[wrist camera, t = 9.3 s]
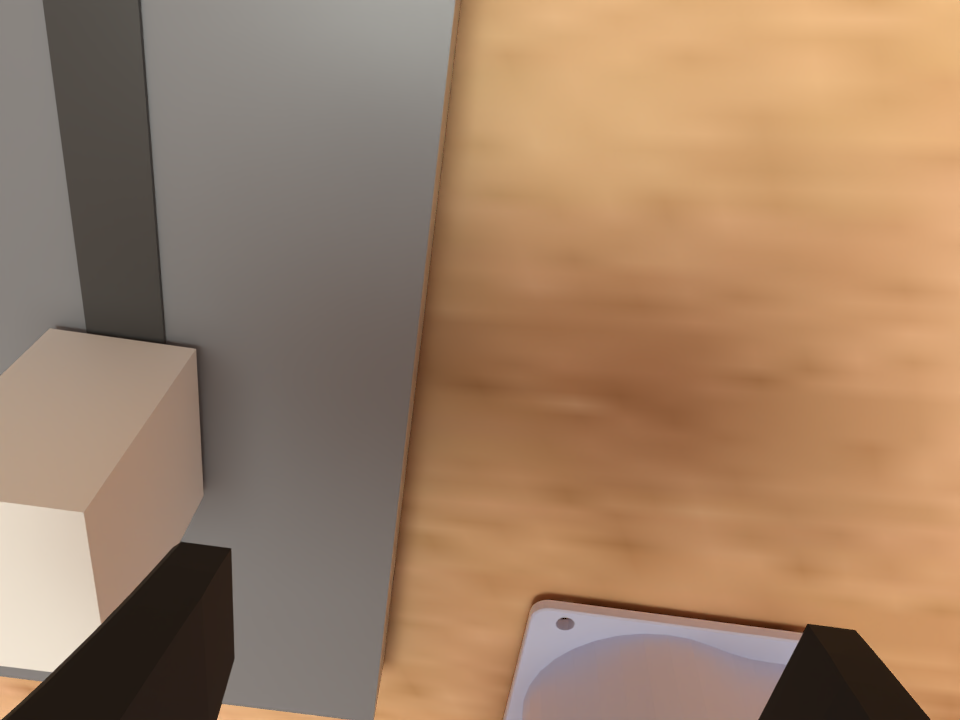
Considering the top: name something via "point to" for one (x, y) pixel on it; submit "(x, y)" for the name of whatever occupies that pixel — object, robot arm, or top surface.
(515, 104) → the top surface
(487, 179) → the top surface
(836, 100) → the top surface
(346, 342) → the fader console
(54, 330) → the fader tab
